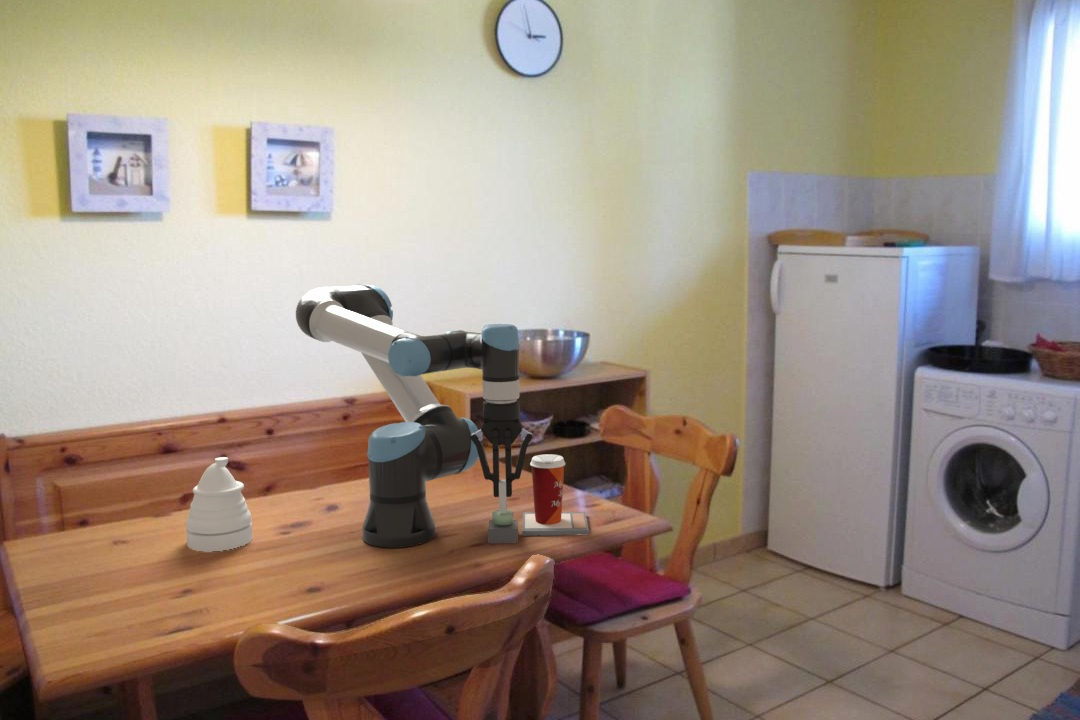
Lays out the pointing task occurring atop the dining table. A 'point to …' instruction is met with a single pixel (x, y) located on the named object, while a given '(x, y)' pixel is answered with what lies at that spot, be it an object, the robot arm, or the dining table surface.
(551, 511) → the paper cup
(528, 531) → the picture board
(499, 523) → the button
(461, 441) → the robot arm
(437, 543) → the dining table surface
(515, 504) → the dining table surface
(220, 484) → the honey pot
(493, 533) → the button housing
